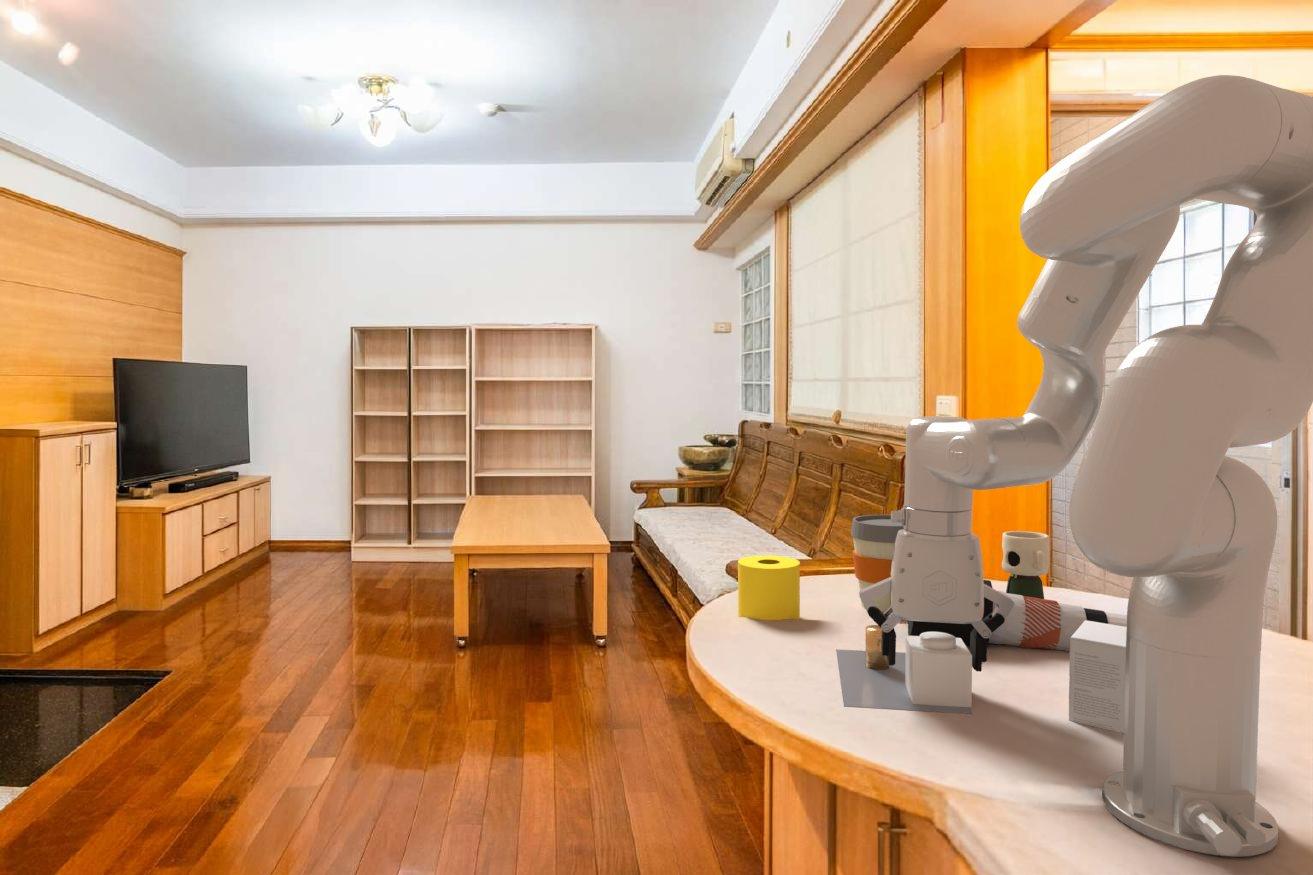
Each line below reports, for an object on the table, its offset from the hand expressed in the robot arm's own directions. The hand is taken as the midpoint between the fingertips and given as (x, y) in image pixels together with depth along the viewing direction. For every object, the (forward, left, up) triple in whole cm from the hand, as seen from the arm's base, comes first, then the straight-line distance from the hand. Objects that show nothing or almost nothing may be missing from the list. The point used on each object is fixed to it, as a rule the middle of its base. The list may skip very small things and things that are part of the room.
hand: (932, 664), depth 93 cm
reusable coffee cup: (+42, +1, -5) cm, 43 cm away
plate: (+4, +4, -5) cm, 7 cm away
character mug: (+42, -21, -5) cm, 48 cm away
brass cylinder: (+8, +6, -4) cm, 11 cm away
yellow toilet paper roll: (+32, +21, -5) cm, 39 cm away
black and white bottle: (+21, -17, -5) cm, 28 cm away
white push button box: (-1, 0, -4) cm, 4 cm away
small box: (-4, -17, -5) cm, 18 cm away
